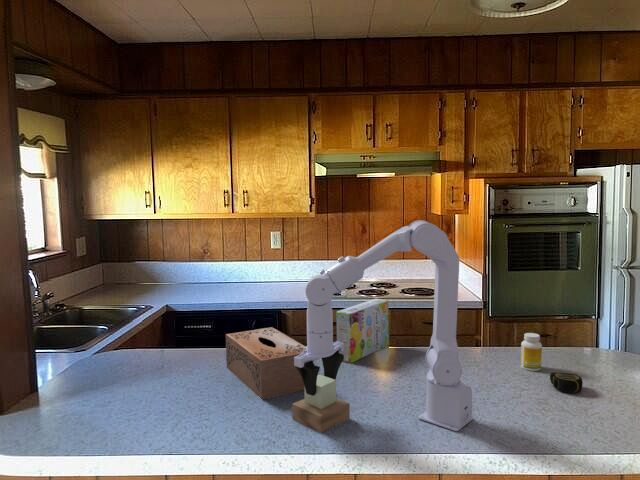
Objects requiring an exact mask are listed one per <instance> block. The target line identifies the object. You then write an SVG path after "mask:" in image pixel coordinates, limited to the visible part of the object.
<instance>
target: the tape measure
mask: <svg viewBox="0 0 640 480" xmlns="http://www.w3.org/2000/svg"><path fill="white" fill-rule="evenodd" d="M582 378H583V377H581V376H579V375H577V374H575V373H569V372H551V373H550V375H549V381H550V383H551V384H552V386H553V388H555V389H556V390H558V391H560V392H564V393H565V392H566V393H579V392H581V391H582V390H583V379H582Z"/></svg>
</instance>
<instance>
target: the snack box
mask: <svg viewBox="0 0 640 480" xmlns="http://www.w3.org/2000/svg"><path fill="white" fill-rule="evenodd" d="M389 314H390V313H389V299H388V300H387V299H382V298H374V299H371V300H367V301H364V302H361V303H358V304H355V305H352V306H350V307H349V306H348V307H346V308H343V309H340V310H337V311H336V315H335V316H336V318H335V319H336V341H339V342H343V343H344V351H342V352H340V351H339V353H340V354H343V355H344V360H343V361H342V362H345V363H350V364H352V363H354V362H356V361H358V360H360V359H363V358H364V357H367V356H368V355H371V354H374V353H375V352H377V351H378V352H379V350H382V349H384V348H386V347H388V346H390V327H389V324H390V322H389V319H390V317H389Z"/></svg>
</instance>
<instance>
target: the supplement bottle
mask: <svg viewBox="0 0 640 480" xmlns="http://www.w3.org/2000/svg"><path fill="white" fill-rule="evenodd" d="M523 335H524V336H523V341H521V344H520V364H519V365H520V368H521V369H522V370H525V371H531V372H536V371H540V370H541V368H542V353H543V345H542V343H541V342H540V340H541V335H540V334H539V333H534V332H525V333H524V334H523Z"/></svg>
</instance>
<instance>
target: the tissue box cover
mask: <svg viewBox="0 0 640 480" xmlns="http://www.w3.org/2000/svg"><path fill="white" fill-rule="evenodd" d="M306 346H307V345H306ZM306 346H305V345H303V344H302V343H300V342H298V341H297V340H295V339H294V338H292V337H290V336H288V335H287V334H285V333H283V332H282V331H280V330H278V329H276V328H274V327H273V326H270V327H264V328H263V327H262V328H257V329H251V330H244V331H239V332H238V331H237V332H232V333H226V334H225V354H226V355H225V357H226V363H225V364H226V369H228V370H229V371H230V372H231V373H232V374H233V375H234V376H235V377H236V378H238V380H239V381H241V383H243V384H244V385H245V386H246V387H247V388H249V390H250V389H251V390H250V391H251V392H253V393H254V394H255V395H256V396H257V397H258V396H259V397H260V398H261V399H263V400H265V399H264V398H267V399H269V398H268V397H271V398H274V397H273V396H276V397H278V396H277V395H280V396H283V395H282V394H284V395H287V394H286V393H289V394H292V393H291V392H293V393H296V392H295V391H297V392H301V391H300V390H302V391H304V382H303V380H302V377H301V375H300V373H299V371H298V370H297V368H296V366H294V357H296V356H298V355H299V354H301V353H302V352H303V351H305V347H306ZM259 397H258V398H259ZM260 398H259V399H260ZM261 399H260V400H261Z"/></svg>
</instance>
